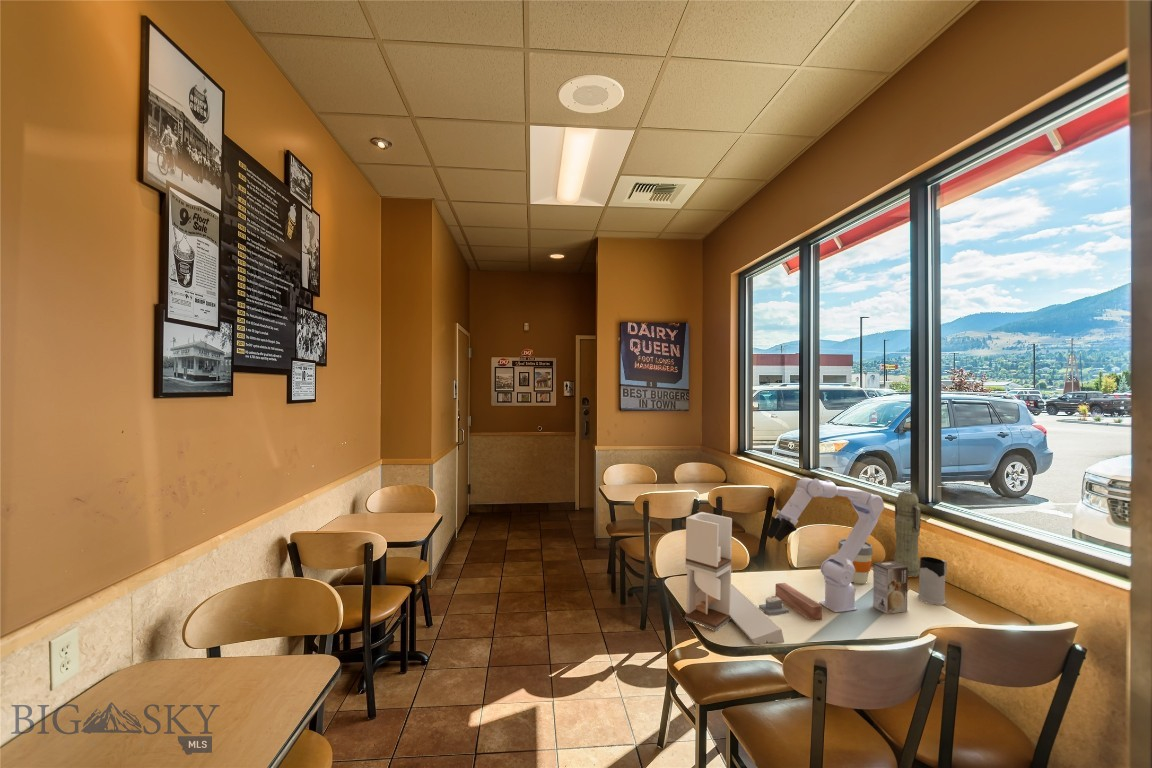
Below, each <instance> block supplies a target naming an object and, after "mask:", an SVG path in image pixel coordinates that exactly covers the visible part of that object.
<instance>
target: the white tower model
mask: <svg viewBox="0 0 1152 768" xmlns="http://www.w3.org/2000/svg"><path fill="white" fill-rule="evenodd" d="M685 521H686V522H685V569H686V570H687V571H686V573H687V574H686V613H684V620H685V619H686V620H685V621H686V622H689V623H692V622H696V623H699V624H702V625H704V626H705V627H708V628H711V629H713V630H715V631H716V632H718V631H719V630H720V629H721V628H723V627H724V626H725V625H726V624H727V622H728V623H729V622H730V621H731V619H730V612H731V584H732V539H733V538H732V537H733V536H732V534H733V533H732V531H733V530H732V529H733V526H732V525H733V518H732V517H728V516H723V515H718V514H714V513H709V512H704V511H700V512H697V513H695V514H692V515H689V516H687V517H686V519H685ZM724 624H725V625H724ZM723 625H724V626H723ZM722 626H723V627H722ZM705 627H704V628H705ZM720 627H721V628H720ZM719 628H720V629H719ZM718 629H719V630H718ZM715 631H714V632H715Z"/></svg>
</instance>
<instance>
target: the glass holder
mask: <svg viewBox="0 0 1152 768" xmlns="http://www.w3.org/2000/svg"><path fill="white" fill-rule="evenodd" d="M947 570H948V563H947V561H946V560H943V559H941V558H940V559H939V558H935V557H931V556H921V557H920V559H919V571H918V574H919V576H918V577H919V579H918V580H919V581H918V584H919V585H918V588H919V589H918V594H917V599H918V598H919V599H918V600H920V601H921V600H922V602H925V603H926V602H927V603H926V604H931V605H934V604H936V606H944V604H945V603H946V604H947V601H946V599H945V597H946V596H945V592H946V577H947ZM946 604H945V605H946Z"/></svg>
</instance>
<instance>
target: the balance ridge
mask: <svg viewBox="0 0 1152 768" xmlns="http://www.w3.org/2000/svg"><path fill="white" fill-rule="evenodd" d="M758 608H759V609H760V610H761V611H762V612H763V613H765V614H766V615H767V616H768V615H769V616H775V615H776V616H777V615H781V614H783V615H784V614H789V613H790V609H788V608H786V607H785V606H784V605H783V601H782V599H780V598H779V597H776V596H775V597H766V598H765V604H764V603H763V604H758Z"/></svg>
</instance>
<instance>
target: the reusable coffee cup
mask: <svg viewBox="0 0 1152 768" xmlns="http://www.w3.org/2000/svg"><path fill="white" fill-rule="evenodd" d="M846 539H847V538H843V539H839V540H838V551H839V550H840V548H841V547H842V545H843V544H844V542H845V540H846ZM873 554H874V551H873V545H872V544H871V543H869V542H867V541H866V542H865V543H864V545H863V547H862V548H861V550H860V551H859V553H858V555H857V556H856V558H855V560H854V561H853V566H854V568H855V573H854V575H853V579H852V582H854V583H853V584H856V583H865V584H867V583H868V578H869V572H871V569H872V561H873V559H872V556H873ZM866 582H867V583H866Z"/></svg>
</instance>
